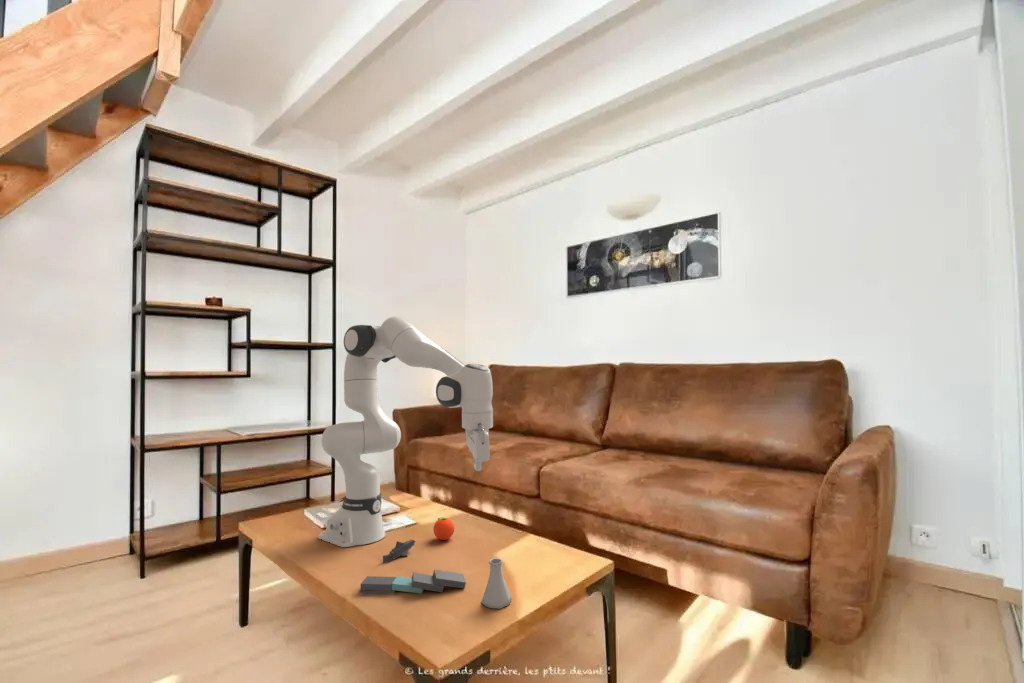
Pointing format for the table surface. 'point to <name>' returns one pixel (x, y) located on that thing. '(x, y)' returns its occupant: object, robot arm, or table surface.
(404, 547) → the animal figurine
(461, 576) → the domino
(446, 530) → the clementine
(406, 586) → the domino
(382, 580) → the domino
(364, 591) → the domino
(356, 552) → the table surface
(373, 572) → the table surface
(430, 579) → the domino
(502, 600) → the flask
